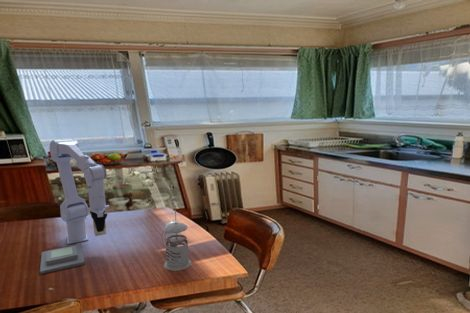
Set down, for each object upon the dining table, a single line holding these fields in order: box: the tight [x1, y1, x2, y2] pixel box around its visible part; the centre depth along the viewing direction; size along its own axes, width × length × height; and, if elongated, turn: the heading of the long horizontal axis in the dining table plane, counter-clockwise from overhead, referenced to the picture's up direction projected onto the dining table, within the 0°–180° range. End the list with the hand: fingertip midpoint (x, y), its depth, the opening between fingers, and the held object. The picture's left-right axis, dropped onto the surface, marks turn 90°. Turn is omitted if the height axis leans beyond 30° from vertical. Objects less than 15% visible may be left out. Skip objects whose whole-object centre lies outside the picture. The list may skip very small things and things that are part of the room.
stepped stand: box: [39, 243, 86, 275], centre depth 120 cm, size 18×14×3 cm
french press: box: [160, 196, 192, 272], centre depth 113 cm, size 10×12×25 cm
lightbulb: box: [165, 220, 181, 244], centre depth 128 cm, size 6×6×11 cm
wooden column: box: [92, 219, 107, 237], centre depth 125 cm, size 4×4×6 cm
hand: (99, 229), depth 125 cm, fingers closed on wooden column, 4 cm apart
